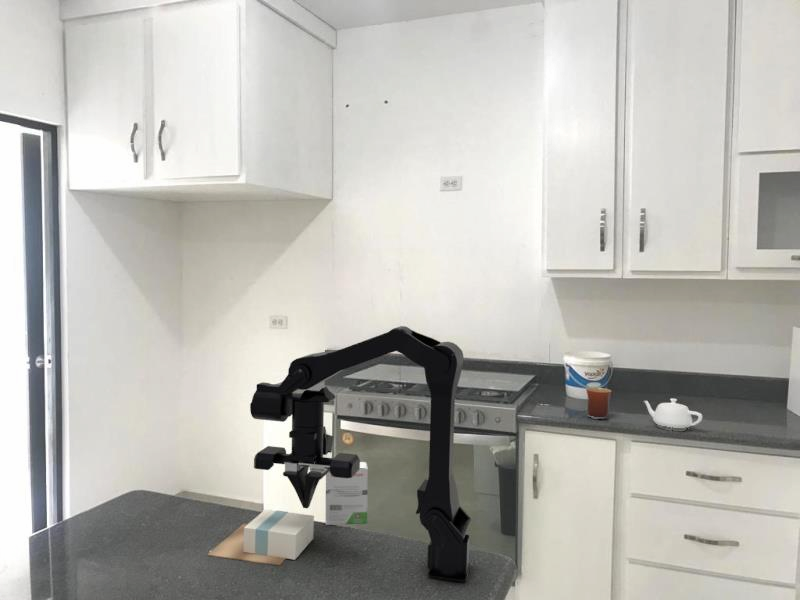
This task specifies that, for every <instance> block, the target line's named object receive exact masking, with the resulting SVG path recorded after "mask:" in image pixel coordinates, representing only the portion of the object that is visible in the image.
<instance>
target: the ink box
mask: <svg viewBox="0 0 800 600" xmlns="http://www.w3.org/2000/svg"><path fill="white" fill-rule="evenodd" d="M368 469H369V468H368V464H367V462H366V461H360V469H359V470H358V471H357V472H356V473H355V474H354V476H353V477H352V478H339V477H333V476H332V474H331V473H330V471H329V472H328V473H327V474H326V475H325V525H326V526H331V525H333V526H334V525H335V526H336V525H337V526H338V525H363V524H364V525H365V524H368V478H369V477H368V475H369V473H368V472H369V471H368Z"/></svg>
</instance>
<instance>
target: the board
mask: <svg viewBox="0 0 800 600" xmlns="http://www.w3.org/2000/svg"><path fill="white" fill-rule="evenodd" d="M248 524H249V523H247V524H246V523H242V525H240V526H239V527H238V528H237V529H235V531H233V532H232V533H231V534H230V535H229V536H228V537H226V538H225V539H224V540H223V541H221V543H219V544H218V545H217V546H216V547H215V548H213V549H212V550H211V551H210V552H208V553H207V554H206V556H208V557H216V558H220V559H221V558H222V559H227V560H228V559H230V560H235V561H243V562H249V563H250V562H251V563H256V564H257V563H258V564H264V565H273V566H279V567H281V565H282V564H283V563H284V562H285V561H286V560H287V558H280V557H274V556H264V555H258V554H254V553H248V552H243V549H244V527H245V526H247V525H248Z"/></svg>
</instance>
